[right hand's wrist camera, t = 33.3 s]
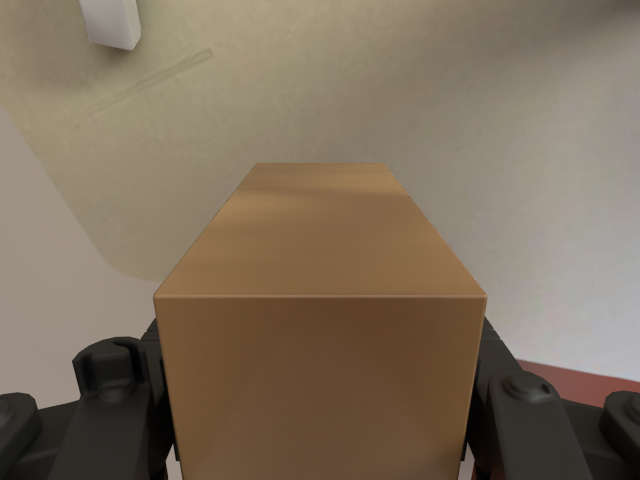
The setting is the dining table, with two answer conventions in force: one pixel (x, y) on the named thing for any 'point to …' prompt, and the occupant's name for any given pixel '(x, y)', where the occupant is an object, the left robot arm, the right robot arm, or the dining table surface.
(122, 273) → the dining table surface
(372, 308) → the block
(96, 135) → the dining table surface
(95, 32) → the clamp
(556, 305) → the dining table surface
